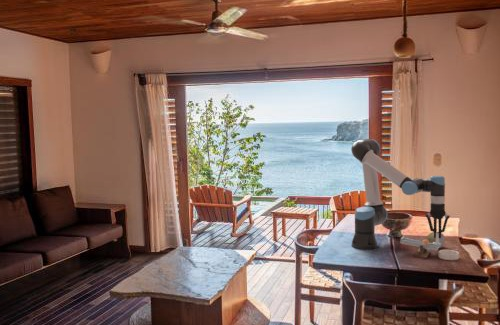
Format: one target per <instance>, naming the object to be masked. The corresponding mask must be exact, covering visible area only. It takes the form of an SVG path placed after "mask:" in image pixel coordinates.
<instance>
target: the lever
mask: <svg viewBox="0 0 500 325" xmlns="http://www.w3.org/2000/svg"><path fill="white" fill-rule="evenodd" d="M422 242H423V240H418V239H413V238H407V237H405V235H402V236H401V237H400V241H399V244H402V245H407V246H412V247H413V246H414V247H418V248H420V245H423V248H426V249H428V250H430V251H435V252H438V251H439V249H440V248H439V247H440V245H441V243H439V244H436V242H433V243H429V244H428V245H425V244H423V243H422Z"/></svg>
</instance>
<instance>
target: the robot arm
mask: <svg viewBox="0 0 500 325" xmlns="http://www.w3.org/2000/svg"><path fill="white" fill-rule="evenodd" d="M380 153H381V145H380V144H379V142H378V141H377V140H375V139H372V138H366V139H358V140H356V141H355V142H353V144H352V145H351V154H352V156H353V157H354V158H355V159H356V160H358V161H359V162H360V164H361V165H362V174H363V181H364V182H363V183H364V191H365V201H366V202H364V204H363V205H364V206H360V207H357V208H356V209H355V211H354V235H353V237H352V240H351V246H352V248H356V249H359V250H375V249H377V248H378V240H377V237H376V234H375V227H377V226H379V225H382V224H383V223H385V222H386V220H387V219H388V211H387V209H386V207H385V206H384V202H383V201H382V200H381V193H380V185H379V176H378V173H379V175H382V176H383V177H384V178H386V179H387V180H389V181H390V182H392V183H393V184H394V185H396V186H397V187H398V188H400V189H401V190H402V191H401V192H402V193H403V194H404V195H407V196H411V195H413V196H414V195H415V194H418V193H422V192H424V193H430V211H429V212H428V213H426V214H425V217H426V219H427V223H428V225H429V230H430V231H431V232H434V238H436V244H439V238H441V233H444V232H445V231H446V226H447V223H448V220H449V218H450V217H451V215H448V214H447V212H446V202H445V201H446V197H445V196H446V194H445V193H446V190H445V189H446V183H445V177H444V176H443V175H431V176H430V178H418V177H416V178H415V177H413V178H410V177H409V176H407V174H404V173H403V172H401V171H400V170H399V169H398V168H396V167H394V166H393V165H391V164H390V163H388V162H387V161H386V160H385V159H383V158H381V157H380V156H379V154H380ZM431 218H432V219H433V223H432V219H431ZM443 218H444V222H443V226H442V219H443ZM437 221H438V225H437ZM437 226H438V229H437ZM437 230H438V231H437Z"/></svg>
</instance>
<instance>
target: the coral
mask: <svg viewBox="0 0 500 325" xmlns="http://www.w3.org/2000/svg"><path fill="white" fill-rule="evenodd" d="M426 240H428V241H429V243H433V242H436V238H434V232H433V231H431V232H430V233H429V234H427V235H426ZM439 243H441V245H440V247H439V249H441V248H444V245H445V243H446V236H444V234H443V232H441V238H439Z"/></svg>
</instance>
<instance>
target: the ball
mask: <svg viewBox="0 0 500 325" xmlns="http://www.w3.org/2000/svg"><path fill="white" fill-rule="evenodd" d="M422 241H423V242H422V243H423V244H425V245H428V244H429V241H428V240H427V239H423V240H422Z"/></svg>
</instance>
